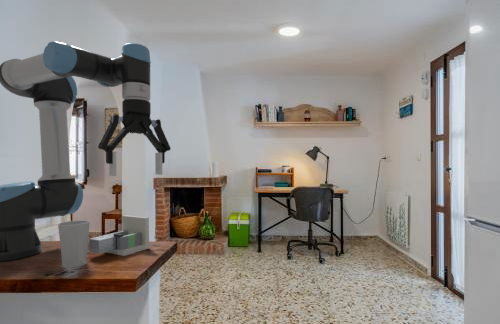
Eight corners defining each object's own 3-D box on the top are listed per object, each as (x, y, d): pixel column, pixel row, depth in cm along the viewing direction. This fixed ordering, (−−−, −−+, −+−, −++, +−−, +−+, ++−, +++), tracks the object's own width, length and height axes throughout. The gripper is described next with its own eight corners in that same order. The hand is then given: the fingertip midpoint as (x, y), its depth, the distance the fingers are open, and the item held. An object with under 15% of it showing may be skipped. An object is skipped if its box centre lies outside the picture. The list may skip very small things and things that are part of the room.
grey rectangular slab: (89, 251, 96) (89, 236, 96) (112, 245, 103) (112, 231, 103) (104, 254, 92) (104, 238, 92) (127, 248, 99) (126, 233, 99)
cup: (76, 269, 85) (75, 225, 85) (51, 268, 86) (51, 225, 86) (96, 260, 92) (95, 220, 93) (73, 259, 94) (72, 220, 94)
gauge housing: (100, 251, 103) (100, 219, 103) (126, 244, 111) (125, 215, 111) (123, 255, 97) (123, 222, 97) (149, 248, 105) (148, 217, 105)
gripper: (95, 91, 76) (95, 177, 76) (181, 104, 94) (182, 174, 94) (84, 96, 81) (85, 176, 81) (168, 107, 99) (168, 173, 99)
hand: (137, 175), depth 87 cm, fingers open, 13 cm apart
